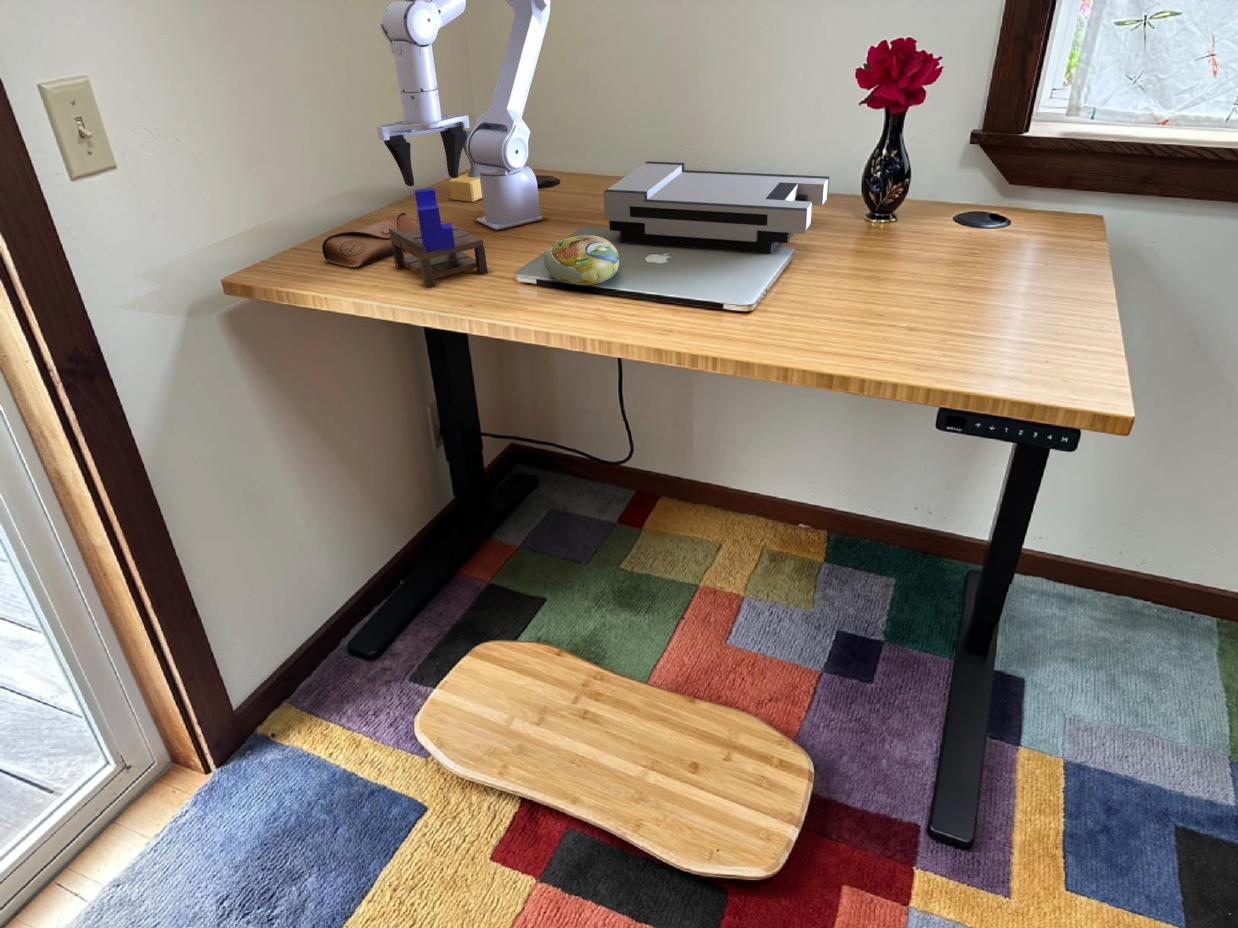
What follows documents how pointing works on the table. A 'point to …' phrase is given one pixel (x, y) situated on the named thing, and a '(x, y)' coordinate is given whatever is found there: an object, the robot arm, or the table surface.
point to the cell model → (582, 260)
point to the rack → (437, 255)
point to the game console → (711, 207)
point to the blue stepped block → (432, 222)
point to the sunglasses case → (365, 242)
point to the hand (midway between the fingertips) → (431, 181)
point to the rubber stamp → (466, 183)
